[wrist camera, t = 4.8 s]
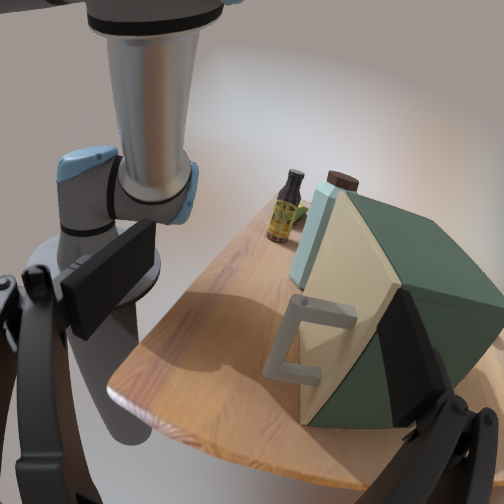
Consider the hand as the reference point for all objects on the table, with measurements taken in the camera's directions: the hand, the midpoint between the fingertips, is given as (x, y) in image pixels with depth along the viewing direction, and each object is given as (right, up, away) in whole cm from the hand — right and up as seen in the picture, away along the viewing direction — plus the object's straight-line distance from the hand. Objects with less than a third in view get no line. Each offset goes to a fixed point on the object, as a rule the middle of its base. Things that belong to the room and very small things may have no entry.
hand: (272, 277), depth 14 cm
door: (+4, -15, +30) cm, 33 cm away
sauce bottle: (+6, +5, +66) cm, 66 cm away
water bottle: (+12, -6, +50) cm, 51 cm away
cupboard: (+17, -18, +30) cm, 39 cm away
